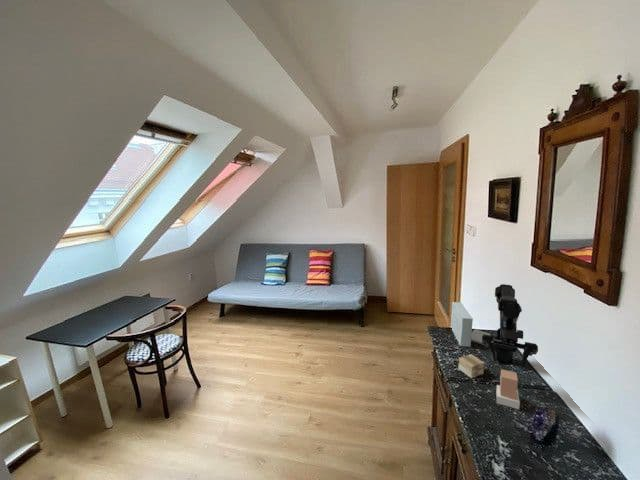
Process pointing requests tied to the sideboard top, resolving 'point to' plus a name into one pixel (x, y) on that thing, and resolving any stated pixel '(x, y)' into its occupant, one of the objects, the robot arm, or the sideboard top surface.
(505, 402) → the block
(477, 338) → the external hard drive
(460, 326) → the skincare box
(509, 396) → the terracotta block
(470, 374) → the tower base
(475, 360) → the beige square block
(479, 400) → the sideboard top surface
